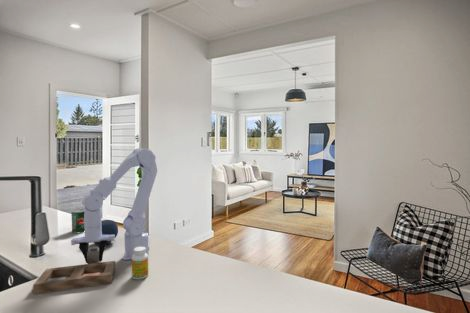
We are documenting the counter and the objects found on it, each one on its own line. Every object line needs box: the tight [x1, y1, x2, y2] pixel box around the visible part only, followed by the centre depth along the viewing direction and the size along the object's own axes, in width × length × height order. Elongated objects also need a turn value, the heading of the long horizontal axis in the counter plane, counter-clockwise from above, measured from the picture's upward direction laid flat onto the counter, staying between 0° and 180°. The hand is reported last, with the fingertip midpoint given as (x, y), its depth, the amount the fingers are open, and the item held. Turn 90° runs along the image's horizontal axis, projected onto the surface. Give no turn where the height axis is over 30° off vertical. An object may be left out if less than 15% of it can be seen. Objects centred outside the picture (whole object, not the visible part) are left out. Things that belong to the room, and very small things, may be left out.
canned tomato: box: [70, 207, 85, 233], centre depth 145 cm, size 8×8×11 cm
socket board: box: [32, 260, 116, 295], centre depth 94 cm, size 22×11×3 cm, turn 107°
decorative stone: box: [93, 219, 119, 246], centre depth 127 cm, size 12×12×10 cm
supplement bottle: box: [131, 247, 149, 280], centre depth 96 cm, size 5×5×10 cm
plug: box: [86, 245, 102, 264], centre depth 105 cm, size 4×4×7 cm
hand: (94, 261), depth 105 cm, fingers closed on plug, 4 cm apart
